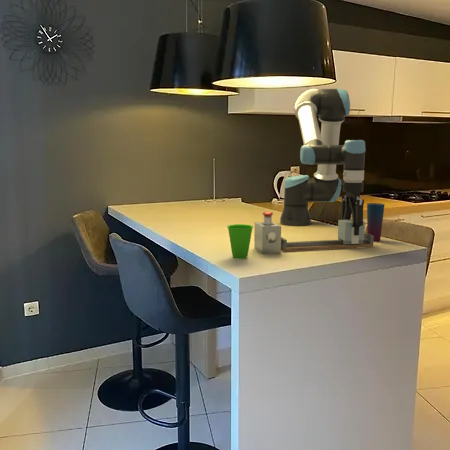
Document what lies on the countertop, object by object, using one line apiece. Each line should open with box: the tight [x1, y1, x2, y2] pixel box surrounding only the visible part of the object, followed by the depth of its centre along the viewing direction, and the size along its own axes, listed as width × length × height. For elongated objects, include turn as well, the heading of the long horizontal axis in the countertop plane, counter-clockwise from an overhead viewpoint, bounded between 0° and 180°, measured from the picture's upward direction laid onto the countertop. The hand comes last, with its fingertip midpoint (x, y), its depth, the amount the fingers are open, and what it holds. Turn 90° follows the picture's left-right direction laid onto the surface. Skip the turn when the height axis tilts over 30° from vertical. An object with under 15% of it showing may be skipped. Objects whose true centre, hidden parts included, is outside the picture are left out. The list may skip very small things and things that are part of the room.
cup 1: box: [227, 223, 254, 260], centre depth 173 cm, size 9×9×11 cm
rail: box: [281, 232, 374, 253], centre depth 189 cm, size 6×36×4 cm, turn 103°
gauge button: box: [262, 211, 273, 225], centre depth 183 cm, size 4×4×8 cm
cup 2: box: [366, 202, 385, 242], centre depth 202 cm, size 7×7×15 cm
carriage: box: [337, 219, 366, 244], centre depth 191 cm, size 6×8×8 cm
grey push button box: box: [253, 221, 282, 255], centre depth 183 cm, size 11×7×10 cm, turn 13°
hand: (350, 241), depth 191 cm, fingers closed on carriage, 6 cm apart
